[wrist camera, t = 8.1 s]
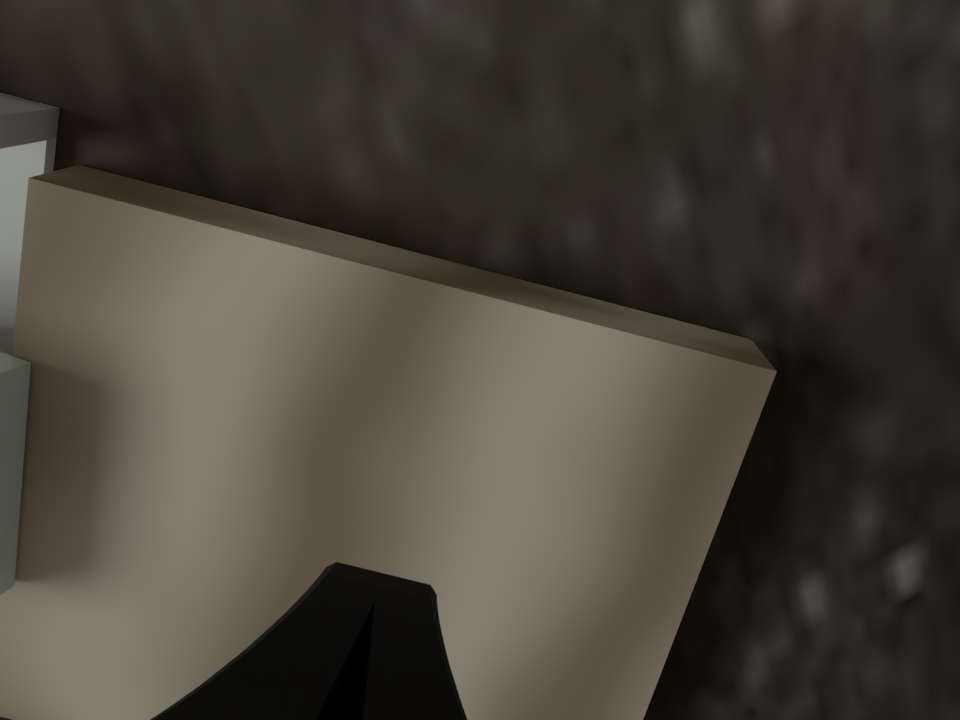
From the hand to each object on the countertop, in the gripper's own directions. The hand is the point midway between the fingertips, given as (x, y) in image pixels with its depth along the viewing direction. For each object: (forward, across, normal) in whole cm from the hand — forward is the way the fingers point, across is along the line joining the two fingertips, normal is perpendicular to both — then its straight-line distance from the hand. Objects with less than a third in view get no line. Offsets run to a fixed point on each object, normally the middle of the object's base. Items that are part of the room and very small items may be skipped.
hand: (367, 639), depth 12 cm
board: (+8, +1, +3) cm, 9 cm away
